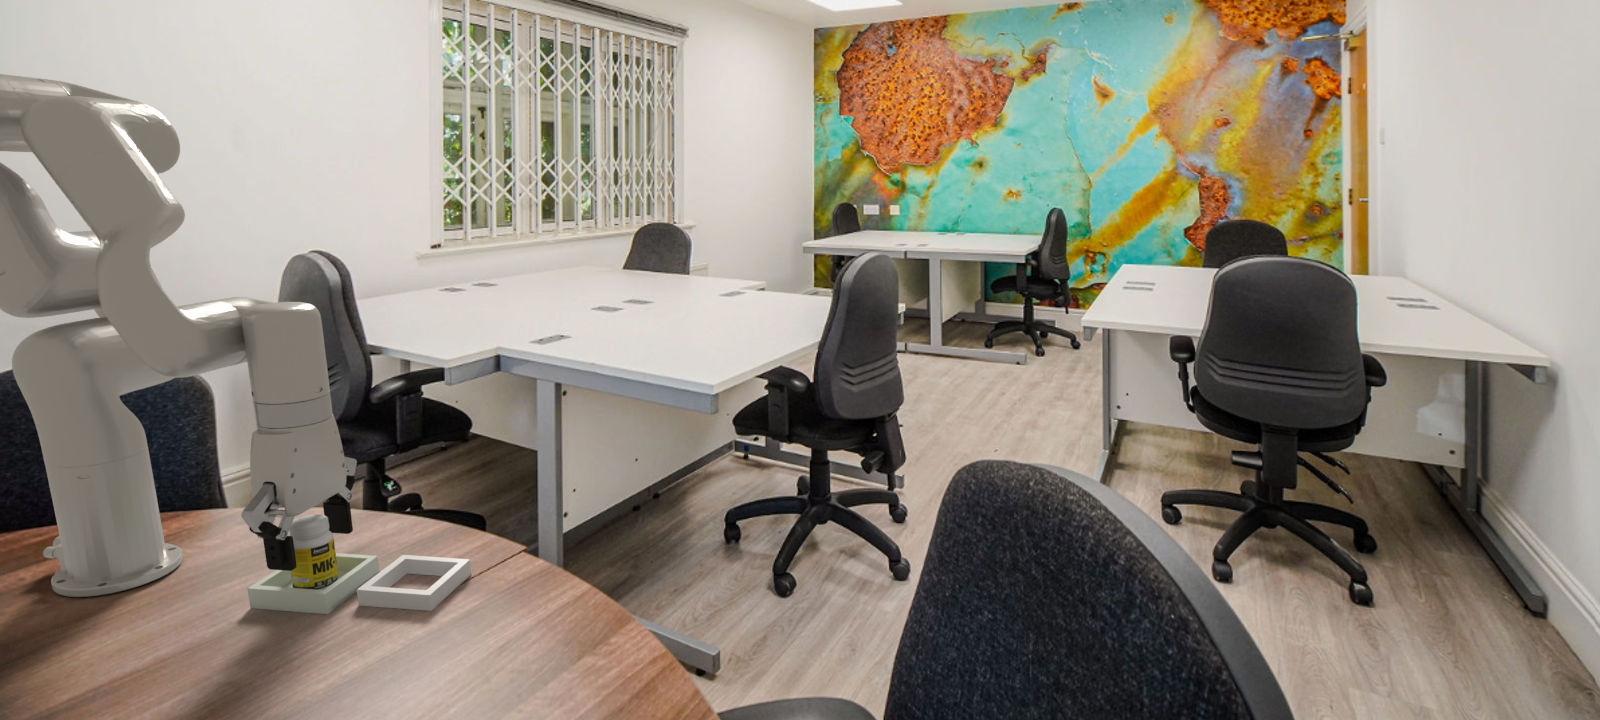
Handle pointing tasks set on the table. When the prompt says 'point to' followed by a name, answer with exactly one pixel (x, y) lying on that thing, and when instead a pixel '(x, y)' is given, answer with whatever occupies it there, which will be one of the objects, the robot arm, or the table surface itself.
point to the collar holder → (384, 596)
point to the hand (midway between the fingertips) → (312, 549)
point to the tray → (283, 597)
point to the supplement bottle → (313, 553)
